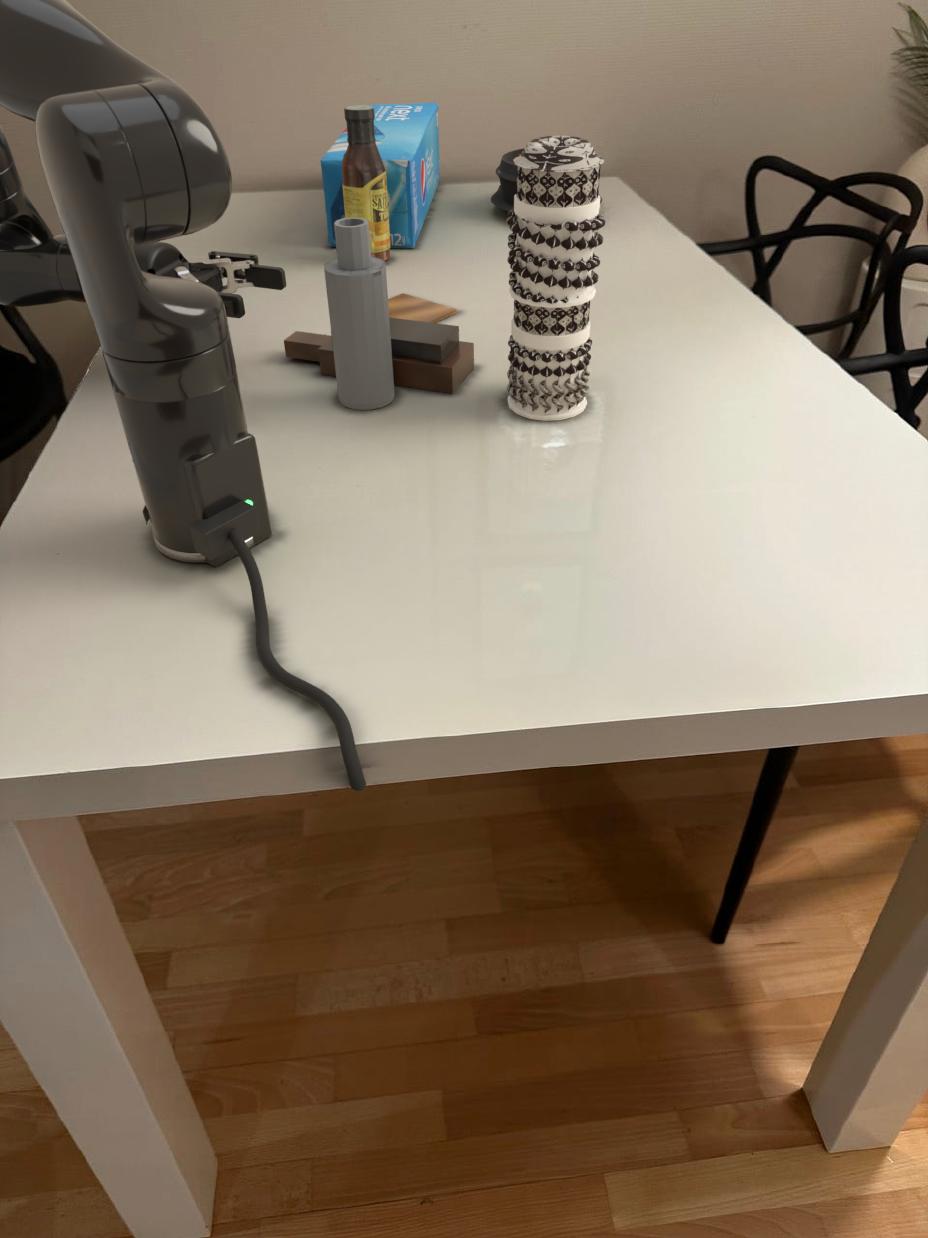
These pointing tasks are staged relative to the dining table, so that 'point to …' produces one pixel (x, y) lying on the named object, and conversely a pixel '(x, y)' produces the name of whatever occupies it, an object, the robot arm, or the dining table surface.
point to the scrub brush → (403, 354)
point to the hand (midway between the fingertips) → (264, 292)
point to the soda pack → (393, 169)
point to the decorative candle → (553, 276)
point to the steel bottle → (359, 319)
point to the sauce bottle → (366, 179)
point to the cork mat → (417, 309)
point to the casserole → (508, 181)
